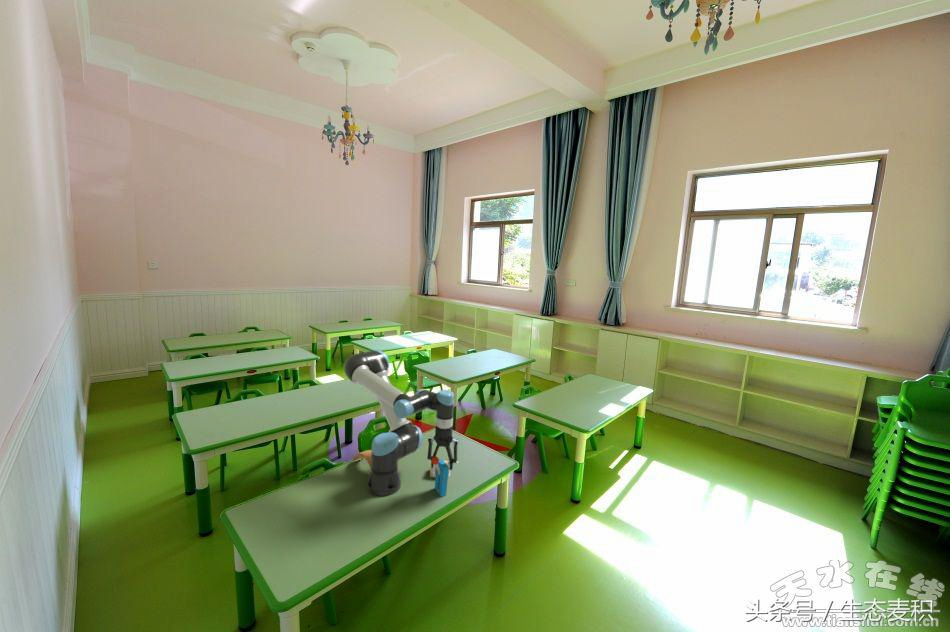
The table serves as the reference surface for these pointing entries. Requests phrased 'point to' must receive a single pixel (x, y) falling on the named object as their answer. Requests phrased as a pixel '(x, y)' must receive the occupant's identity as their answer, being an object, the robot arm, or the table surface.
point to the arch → (364, 456)
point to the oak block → (436, 468)
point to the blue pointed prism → (440, 475)
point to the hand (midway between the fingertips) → (441, 475)
